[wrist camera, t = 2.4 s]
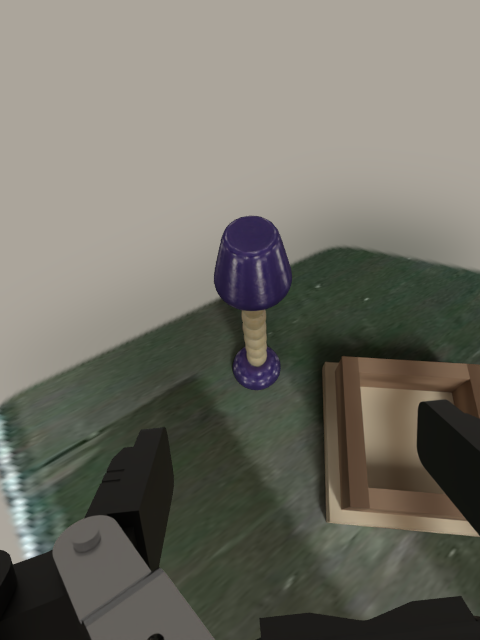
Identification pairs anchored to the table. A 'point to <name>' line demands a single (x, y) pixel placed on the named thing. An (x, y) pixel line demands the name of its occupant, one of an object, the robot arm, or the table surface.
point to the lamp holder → (389, 442)
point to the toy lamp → (253, 292)
